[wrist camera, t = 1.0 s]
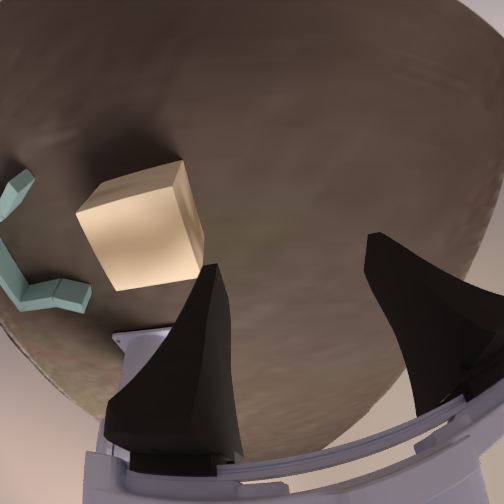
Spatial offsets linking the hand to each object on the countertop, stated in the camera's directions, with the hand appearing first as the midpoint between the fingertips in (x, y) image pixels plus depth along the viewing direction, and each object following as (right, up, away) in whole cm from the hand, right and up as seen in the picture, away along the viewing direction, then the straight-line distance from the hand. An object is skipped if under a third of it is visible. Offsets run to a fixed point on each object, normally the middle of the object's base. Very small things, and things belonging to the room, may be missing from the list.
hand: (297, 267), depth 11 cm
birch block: (-9, +4, +7) cm, 12 cm away
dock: (-22, +1, +7) cm, 24 cm away
